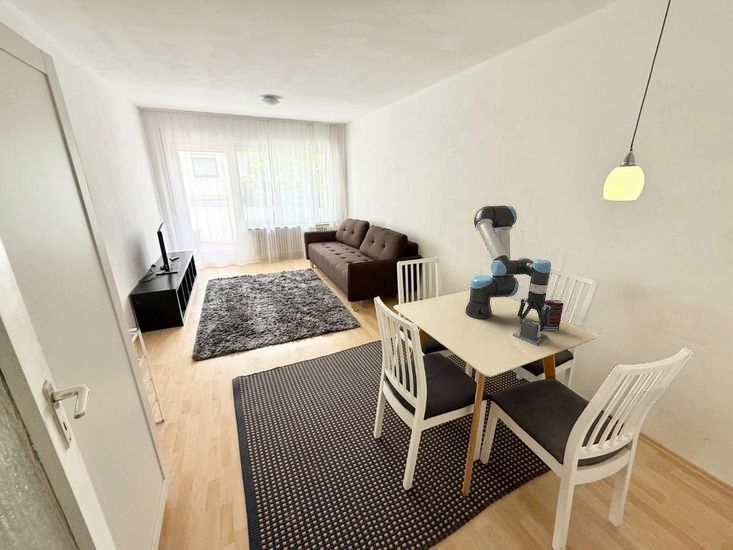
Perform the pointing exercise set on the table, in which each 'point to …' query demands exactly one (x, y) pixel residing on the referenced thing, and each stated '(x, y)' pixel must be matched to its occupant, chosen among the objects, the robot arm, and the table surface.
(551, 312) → the supplement box
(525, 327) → the grey cube
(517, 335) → the hub
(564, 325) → the table surface
